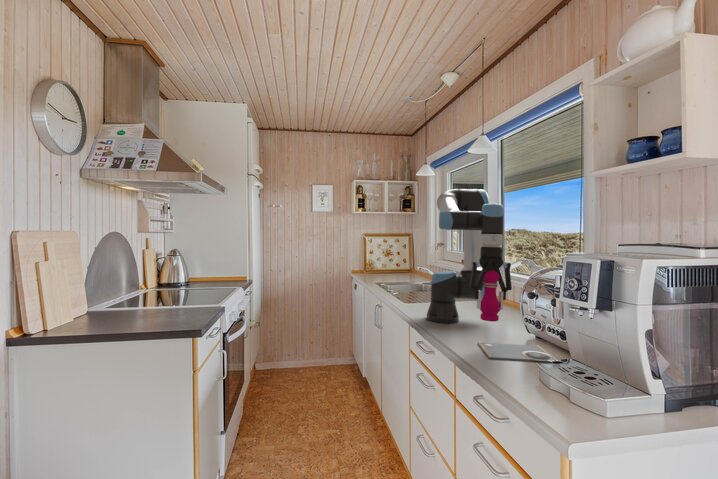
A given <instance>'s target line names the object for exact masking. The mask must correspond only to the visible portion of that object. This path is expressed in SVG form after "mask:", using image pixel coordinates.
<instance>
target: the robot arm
mask: <svg viewBox="0 0 718 479" xmlns="http://www.w3.org/2000/svg"><path fill="white" fill-rule="evenodd" d="M436 207H437V209H438V211H439V213H438V228H439V229H440V230H446V231H463V267H462V268H461V270H460V273H458V272H456V270H443V271H436V272H433V274H432V275H431V282H430V284H431V286H430V287H431V288H430V303H429V306H428V309H427V312H426V319H427V321H430V322H432V323H433V322H434V323H440V324H454V323H458V322H459V321H460V316H459V312H458V309H457V305H456V300H457V299H459V300H460V299H461V300H475V301H476V308H477V309H478V310H480V309H481V300H482V298H483V296H484V290H485V289H484V286H483V285H484V284H483V283H484V280H483V279H484V274H485V273H487V271H488V270H494V271H496V272H497V273H498V274H499V280H498V281H497V283H498V285H499V286H500V290H499V291H498V301H499V304H500V311H501V310H502V311H503V310H504V301H506V299H507V292H508V291H512V279H511V266H512V264H511V263H510V262H505V261H504V260H503V247H502V246H503V240H504V238H503V235H504V215H505V213H504V205H503V204H501V203H490V200H489V195H488V192H487V191H486V190H485V189H481V188H480V189H478V188H470V189H469V188H468V189H467V188H459V189H458V188H454V189H448V190H446V191H444V192H443V193H441V194H440V195H439V196H438V198H437V200H436ZM501 267H502V268H503V269H504V279H503V277H502V272H501V270H500V269H501ZM504 281H505V282H504Z"/></svg>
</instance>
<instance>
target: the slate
mask: <svg viewBox="0 0 718 479" xmlns="http://www.w3.org/2000/svg"><path fill="white" fill-rule="evenodd" d="M477 345H478V347H479V348H480V349H481V350H482V351H483V353H484V354H485V356H486V357H487V358H488V359H489V360H497V361H498V360H501V361H504V360H505V361H520V362H536V361H548V360H558V359H557V358H556V357H554V356H553V355H552V354H550V353H549V351H547V350H545V349H544V348H542V347H541V346H540V345H537V344H536V345H535V344H533V345H532V344H515V343H514V344H512V343H511V344H510V343H496V342H495V343H494V342H493V343H492V342H477Z"/></svg>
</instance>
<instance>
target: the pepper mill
mask: <svg viewBox="0 0 718 479" xmlns="http://www.w3.org/2000/svg"><path fill="white" fill-rule="evenodd" d="M483 280H484V283H483V284H484V285H483V286H484V289H485V290H484V296H483V298H482V300H481V309H479V310H480V312H481V313H480V316H479V317H480V320H482V321H485V322H498V321H499V317H500V316H499V313H500V311H501V310H500V304H499V298H498V297H497V288H498V287H499V286H498V285H499V282H498V280H499V274H498V273H497V272H496V271H494V270H488V271H487V273H485V274H484V279H483Z"/></svg>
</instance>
